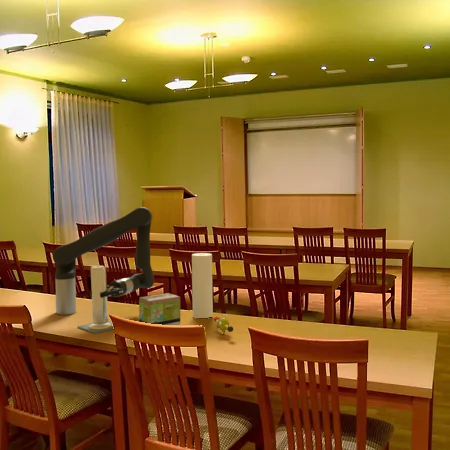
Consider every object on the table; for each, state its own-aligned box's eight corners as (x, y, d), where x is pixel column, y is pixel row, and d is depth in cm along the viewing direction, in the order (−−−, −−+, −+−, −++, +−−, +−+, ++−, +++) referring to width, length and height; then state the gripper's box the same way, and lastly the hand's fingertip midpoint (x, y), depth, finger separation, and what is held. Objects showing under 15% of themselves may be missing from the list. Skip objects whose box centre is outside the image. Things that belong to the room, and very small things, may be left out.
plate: (77, 327, 223) (77, 325, 223) (105, 321, 233) (105, 319, 233) (94, 333, 213) (94, 332, 213) (122, 327, 223) (122, 325, 223)
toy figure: (209, 329, 219) (209, 313, 218) (221, 327, 221) (221, 312, 220) (224, 341, 202) (224, 324, 201) (237, 339, 204) (237, 322, 203)
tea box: (151, 336, 209) (150, 301, 208) (138, 331, 217) (138, 297, 216) (181, 329, 219) (180, 295, 218) (168, 324, 226) (167, 292, 225)
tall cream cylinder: (104, 324, 219) (101, 267, 217) (90, 324, 221) (87, 267, 218) (110, 320, 226) (108, 265, 223) (97, 320, 227) (94, 265, 225)
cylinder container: (215, 317, 237) (214, 254, 235) (196, 319, 234) (195, 255, 232) (208, 313, 246) (207, 251, 244) (190, 315, 243) (189, 252, 240)
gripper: (109, 277, 237) (82, 284, 223) (133, 280, 231) (107, 287, 216) (109, 293, 238) (83, 301, 223) (133, 296, 231) (108, 304, 216)
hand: (95, 294), depth 220 cm, fingers closed on tall cream cylinder, 5 cm apart
